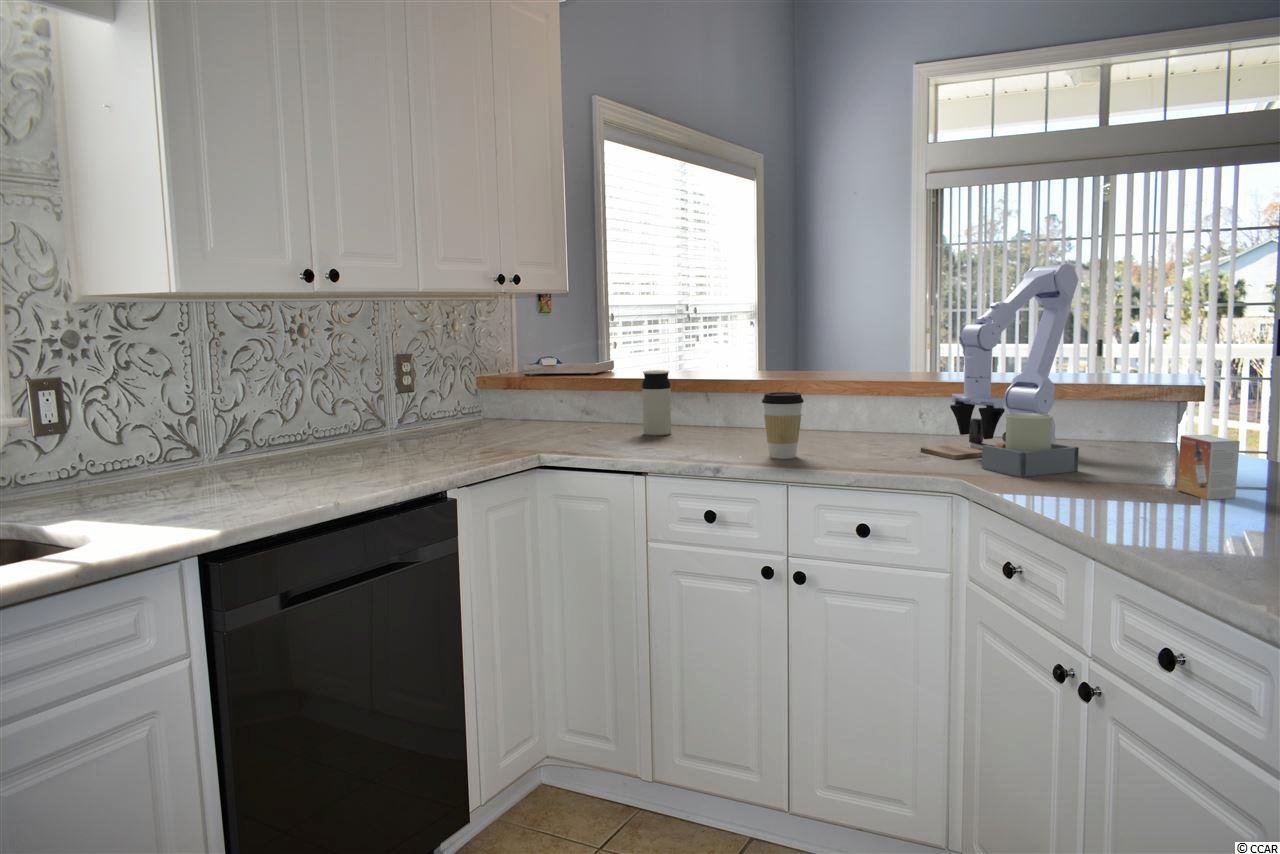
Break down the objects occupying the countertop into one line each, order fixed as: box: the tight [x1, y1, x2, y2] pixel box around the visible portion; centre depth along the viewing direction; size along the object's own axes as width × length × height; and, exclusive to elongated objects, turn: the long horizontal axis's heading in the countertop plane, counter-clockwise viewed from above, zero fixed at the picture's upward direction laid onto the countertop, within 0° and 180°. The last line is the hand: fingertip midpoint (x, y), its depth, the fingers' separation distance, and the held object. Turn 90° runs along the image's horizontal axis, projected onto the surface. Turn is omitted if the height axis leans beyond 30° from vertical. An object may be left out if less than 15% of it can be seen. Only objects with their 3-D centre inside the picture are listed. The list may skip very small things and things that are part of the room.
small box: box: [1176, 434, 1240, 501], centre depth 161 cm, size 8×6×10 cm
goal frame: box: [981, 443, 1080, 478], centre depth 189 cm, size 15×11×5 cm
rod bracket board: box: [920, 444, 982, 460], centre depth 211 cm, size 10×12×1 cm
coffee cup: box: [761, 391, 805, 460], centre depth 212 cm, size 10×10×15 cm
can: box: [1005, 413, 1054, 452], centre depth 189 cm, size 9×9×12 cm
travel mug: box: [641, 369, 672, 437], centre depth 254 cm, size 8×8×18 cm
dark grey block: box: [968, 417, 1006, 450], centre depth 199 cm, size 5×13×9 cm, turn 21°
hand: (976, 436), depth 204 cm, fingers open, 7 cm apart
